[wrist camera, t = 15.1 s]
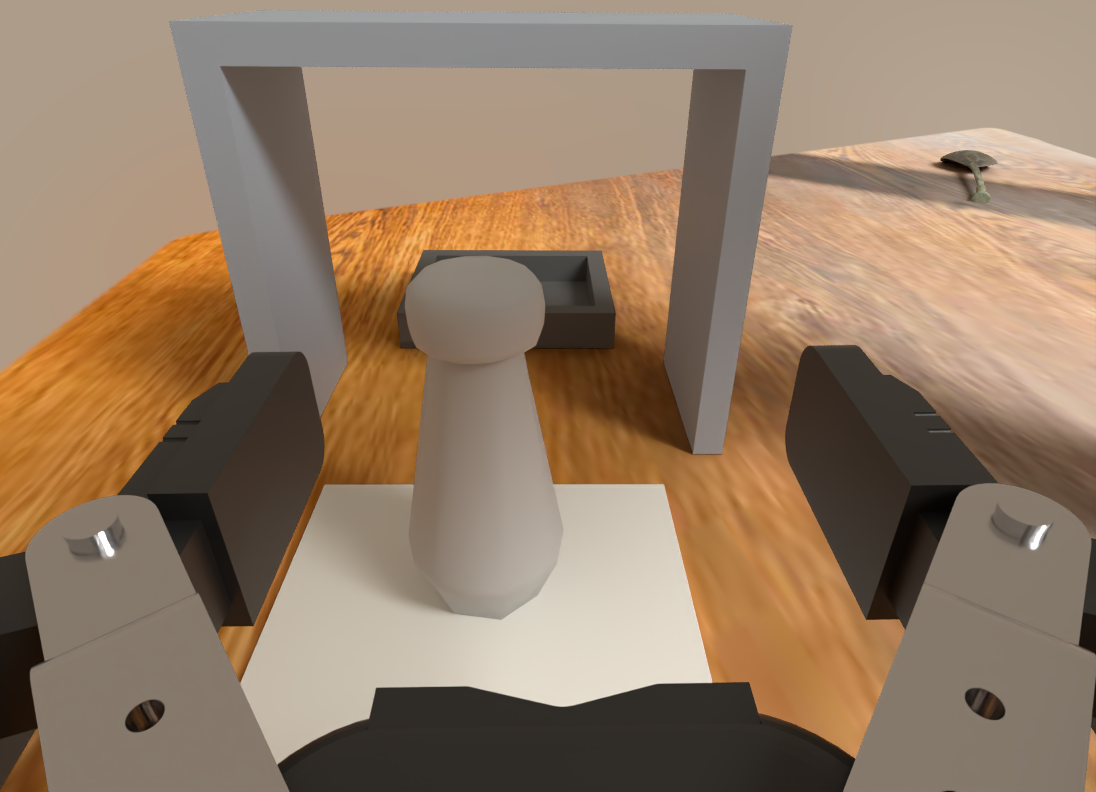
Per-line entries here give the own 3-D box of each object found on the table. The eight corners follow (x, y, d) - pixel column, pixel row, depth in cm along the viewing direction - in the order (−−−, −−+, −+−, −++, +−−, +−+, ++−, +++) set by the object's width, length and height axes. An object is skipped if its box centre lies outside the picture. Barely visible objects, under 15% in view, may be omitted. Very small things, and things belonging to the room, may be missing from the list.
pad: (663, 490, 33) (663, 484, 33) (732, 779, 21) (734, 771, 21) (325, 491, 33) (324, 484, 33) (204, 782, 21) (201, 774, 21)
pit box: (600, 280, 57) (601, 250, 55) (613, 348, 46) (615, 313, 45) (426, 280, 56) (423, 250, 55) (400, 347, 46) (397, 312, 45)
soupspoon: (990, 173, 94) (935, 170, 97) (997, 146, 93) (941, 144, 95) (1011, 209, 76) (944, 204, 79) (1020, 177, 75) (951, 173, 77)
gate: (687, 362, 45) (729, 13, 35) (722, 454, 36) (792, 25, 26) (324, 362, 44) (261, 10, 34) (272, 454, 36) (168, 20, 26)
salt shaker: (407, 544, 30) (369, 245, 23) (538, 519, 31) (539, 231, 24) (427, 654, 25) (385, 317, 18) (580, 619, 26) (595, 294, 19)
